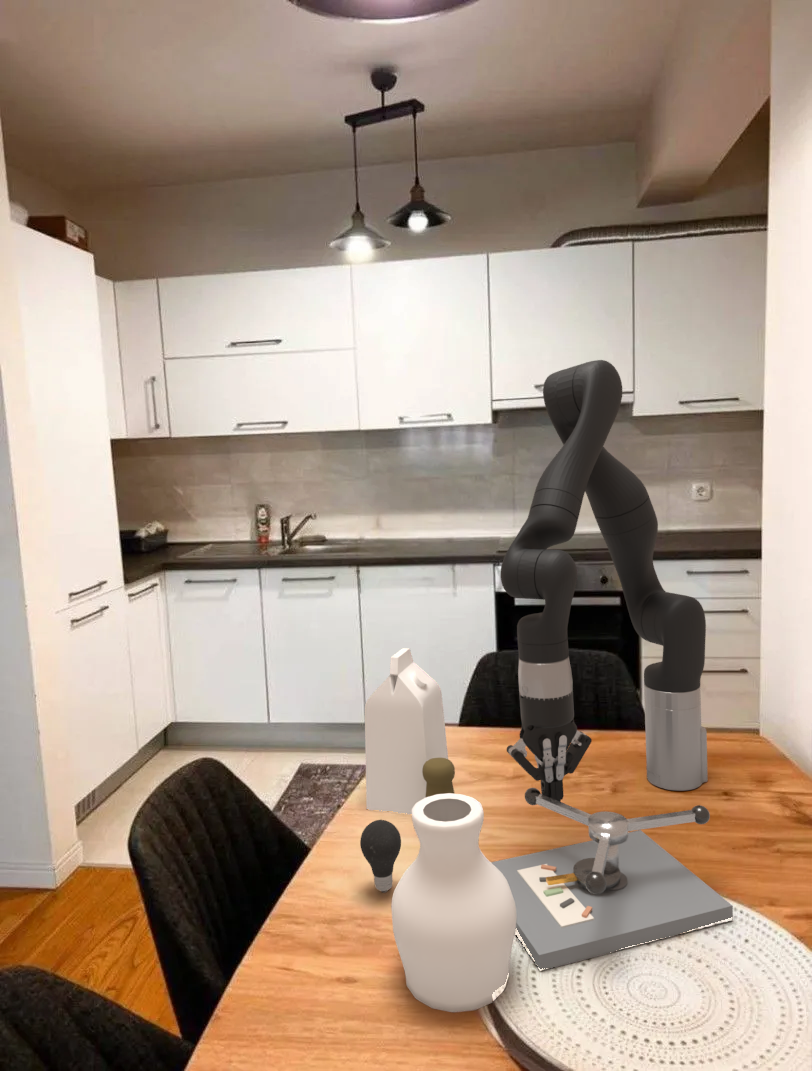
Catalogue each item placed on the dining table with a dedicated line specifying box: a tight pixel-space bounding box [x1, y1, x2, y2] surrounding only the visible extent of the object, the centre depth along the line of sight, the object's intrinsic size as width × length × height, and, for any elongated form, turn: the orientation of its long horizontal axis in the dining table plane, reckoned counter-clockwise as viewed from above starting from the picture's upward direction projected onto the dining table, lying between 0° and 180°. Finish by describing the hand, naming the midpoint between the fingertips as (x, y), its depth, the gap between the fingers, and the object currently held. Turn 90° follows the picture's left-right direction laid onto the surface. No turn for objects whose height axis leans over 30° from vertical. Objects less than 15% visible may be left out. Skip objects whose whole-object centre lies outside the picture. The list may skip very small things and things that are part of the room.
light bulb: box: [359, 819, 402, 894], centre depth 103 cm, size 6×6×10 cm
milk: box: [364, 647, 449, 815], centre depth 129 cm, size 12×12×26 cm
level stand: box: [490, 829, 734, 969], centre depth 98 cm, size 26×20×2 cm
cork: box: [422, 758, 456, 797], centre depth 119 cm, size 6×6×11 cm
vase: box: [391, 793, 517, 1013], centre depth 85 cm, size 14×14×20 cm
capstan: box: [524, 787, 711, 894], centre depth 98 cm, size 23×25×8 cm
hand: (552, 802), depth 108 cm, fingers closed
